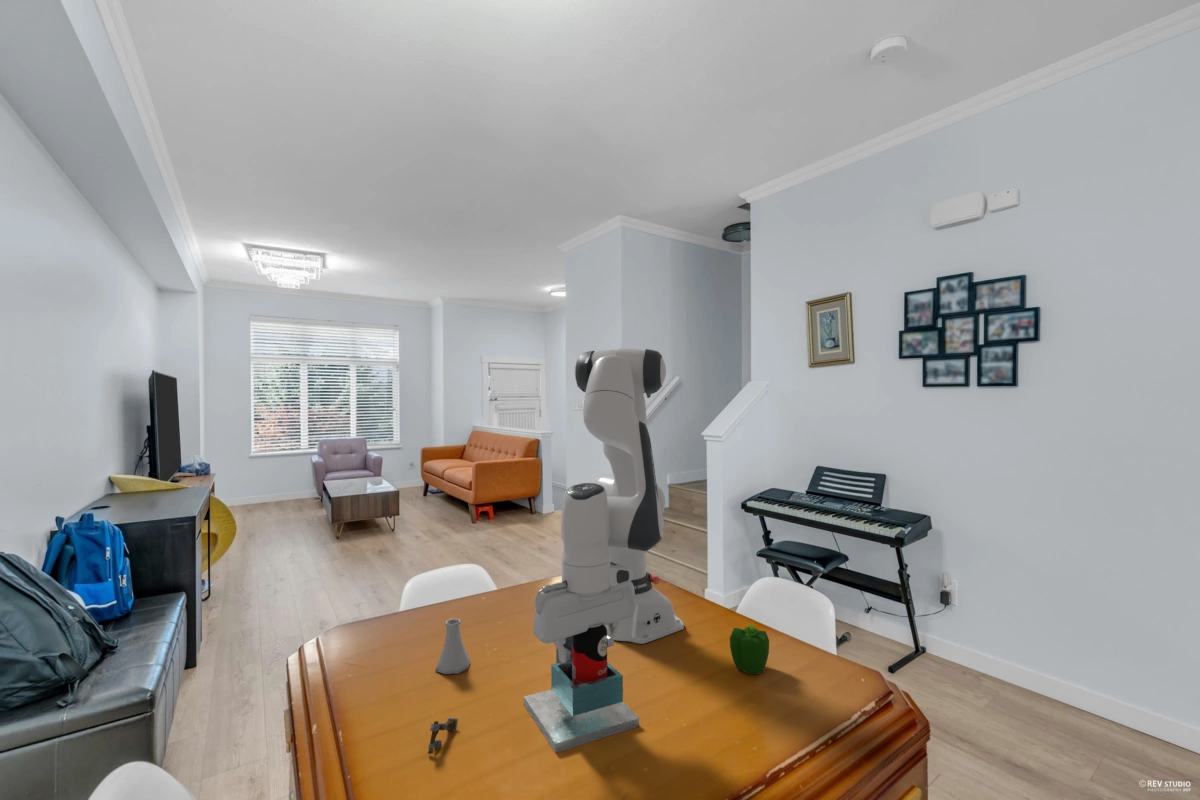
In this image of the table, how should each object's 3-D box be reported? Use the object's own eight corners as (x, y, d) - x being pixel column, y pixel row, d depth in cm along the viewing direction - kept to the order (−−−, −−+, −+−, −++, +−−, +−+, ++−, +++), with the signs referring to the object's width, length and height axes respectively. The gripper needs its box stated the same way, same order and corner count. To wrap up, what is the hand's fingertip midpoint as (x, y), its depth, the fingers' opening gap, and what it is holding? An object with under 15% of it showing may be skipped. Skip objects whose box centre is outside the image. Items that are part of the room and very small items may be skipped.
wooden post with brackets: (421, 754, 85) (427, 721, 87) (443, 746, 92) (448, 716, 94) (432, 755, 85) (437, 722, 87) (453, 747, 92) (458, 717, 94)
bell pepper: (731, 657, 120) (731, 613, 120) (769, 663, 117) (769, 617, 117) (727, 675, 112) (727, 627, 112) (768, 681, 109) (768, 632, 110)
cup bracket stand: (598, 684, 108) (598, 588, 109) (639, 726, 94) (638, 615, 94) (523, 704, 101) (523, 601, 101) (555, 752, 87) (555, 632, 87)
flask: (460, 677, 111) (460, 629, 112) (429, 673, 113) (429, 626, 113) (475, 661, 118) (475, 616, 119) (446, 658, 120) (446, 613, 120)
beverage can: (577, 699, 92) (577, 629, 92) (568, 682, 98) (568, 616, 98) (612, 693, 94) (611, 625, 94) (601, 676, 100) (600, 612, 100)
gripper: (544, 593, 87) (545, 678, 87) (640, 569, 99) (640, 643, 99) (526, 583, 92) (527, 663, 92) (618, 561, 104) (619, 632, 104)
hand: (586, 653), depth 95 cm, fingers open, 8 cm apart
